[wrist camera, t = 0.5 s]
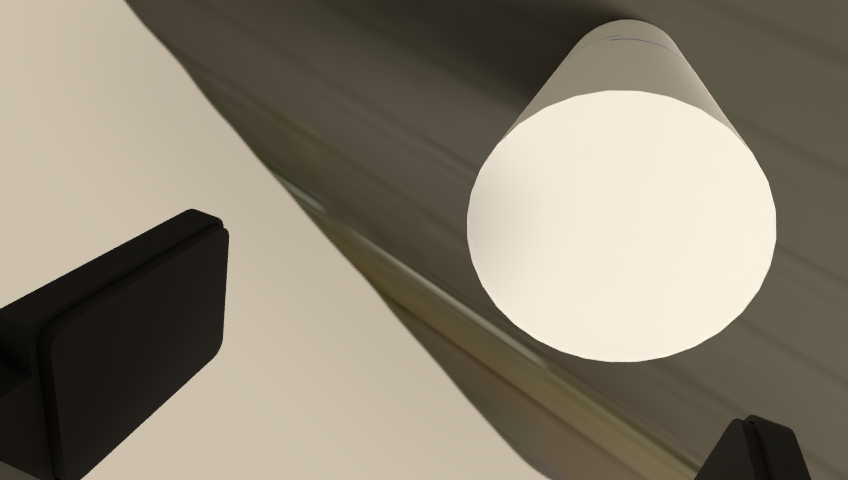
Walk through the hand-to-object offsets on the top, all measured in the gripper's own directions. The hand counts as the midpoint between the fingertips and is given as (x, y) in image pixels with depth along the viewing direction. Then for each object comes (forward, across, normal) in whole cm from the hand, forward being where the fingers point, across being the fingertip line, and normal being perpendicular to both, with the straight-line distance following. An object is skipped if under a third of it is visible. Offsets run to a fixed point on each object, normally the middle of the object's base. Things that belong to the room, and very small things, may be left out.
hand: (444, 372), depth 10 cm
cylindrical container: (+31, -2, -1) cm, 31 cm away
